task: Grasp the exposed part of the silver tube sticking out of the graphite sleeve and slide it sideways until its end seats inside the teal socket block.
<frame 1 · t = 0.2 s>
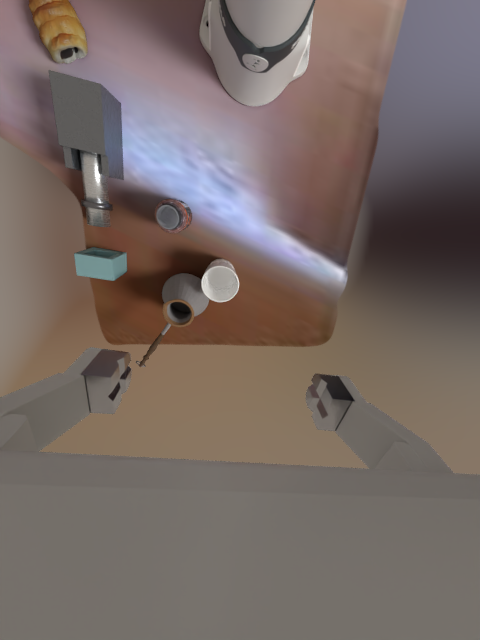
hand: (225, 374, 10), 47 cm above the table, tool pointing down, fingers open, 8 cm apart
pastry: (63, 30, 36), on the table
coffee pot: (177, 305, 59), on the table
white cup: (220, 271, 56), on the table
supplement bottle: (179, 215, 50), on the table
sleeve: (102, 142, 43), on the table
socket: (110, 259, 53), on the table
tube: (94, 170, 42), point 4 cm above the table, slide at 0.0 cm
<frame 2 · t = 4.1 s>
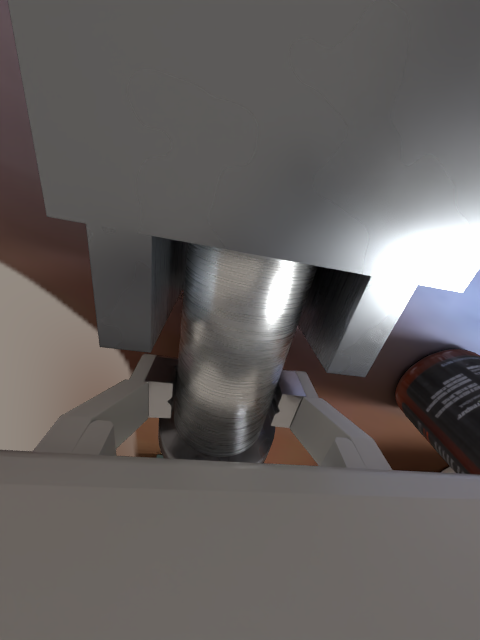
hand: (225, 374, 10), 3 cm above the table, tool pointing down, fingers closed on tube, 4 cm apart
supplement bottle: (430, 377, 16), on the table
sleeve: (257, 159, 9), on the table
tube: (241, 308, 8), point 4 cm above the table, slide at 0.0 cm, touching gripper
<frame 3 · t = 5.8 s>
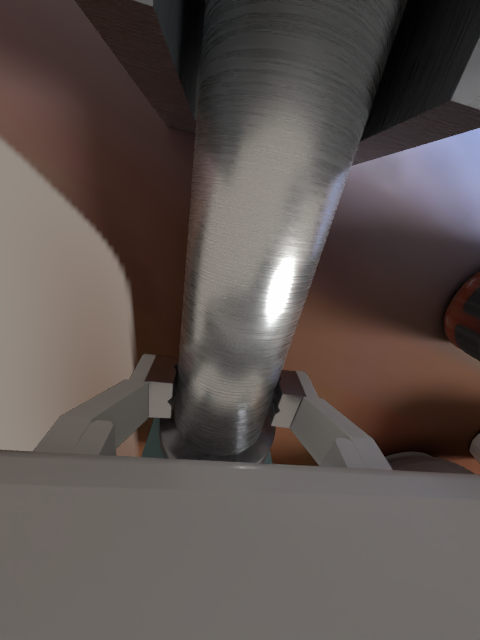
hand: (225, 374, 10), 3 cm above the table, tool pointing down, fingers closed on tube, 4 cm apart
coffee pot: (351, 496, 23), on the table
socket: (208, 427, 17), on the table
tube: (241, 308, 8), point 4 cm above the table, slide at 5.8 cm, touching gripper
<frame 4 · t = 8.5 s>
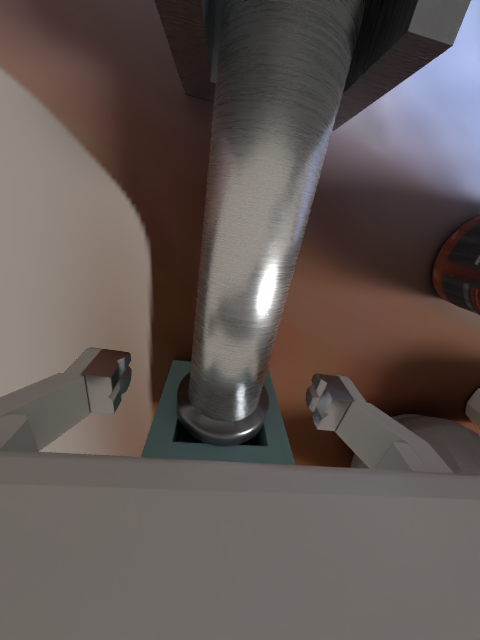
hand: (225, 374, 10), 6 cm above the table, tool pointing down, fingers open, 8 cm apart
coffee pot: (355, 464, 24), on the table
supplement bottle: (470, 257, 15), on the table
socket: (218, 387, 18), on the table
tube: (239, 307, 11), point 4 cm above the table, slide at 8.8 cm
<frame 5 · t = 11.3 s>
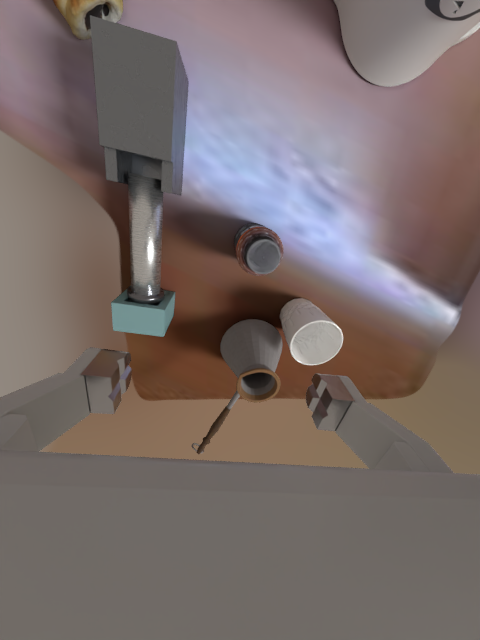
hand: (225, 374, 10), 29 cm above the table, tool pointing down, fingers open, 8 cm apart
coffee pot: (234, 354, 46), on the table
white cup: (296, 314, 42), on the table
supplement bottle: (252, 242, 36), on the table
sleeve: (155, 141, 29), on the table
socket: (153, 300, 39), on the table
tube: (146, 255, 31), point 4 cm above the table, slide at 8.8 cm
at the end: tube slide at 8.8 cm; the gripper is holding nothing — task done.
